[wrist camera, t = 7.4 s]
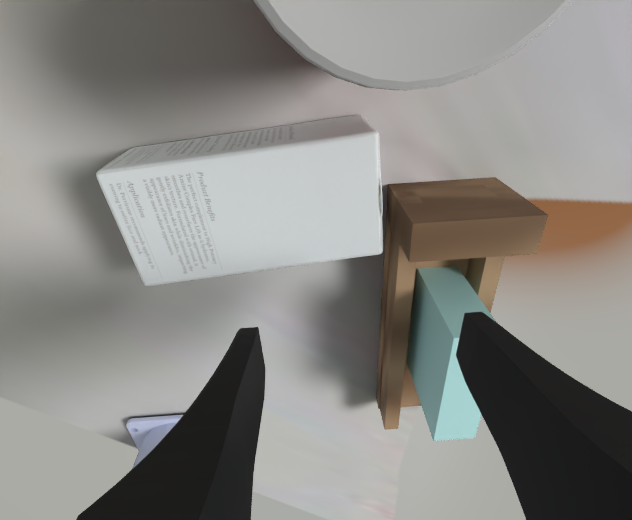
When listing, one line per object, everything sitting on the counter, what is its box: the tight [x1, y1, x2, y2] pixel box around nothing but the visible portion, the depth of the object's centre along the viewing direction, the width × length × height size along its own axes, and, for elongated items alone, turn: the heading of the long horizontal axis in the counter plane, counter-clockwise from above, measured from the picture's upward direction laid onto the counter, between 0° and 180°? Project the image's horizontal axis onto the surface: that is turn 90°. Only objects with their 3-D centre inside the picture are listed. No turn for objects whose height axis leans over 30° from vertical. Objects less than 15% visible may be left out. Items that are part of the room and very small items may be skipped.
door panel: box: [407, 266, 496, 441], centre depth 22 cm, size 8×2×6 cm, turn 3°
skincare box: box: [96, 115, 383, 286], centre depth 18 cm, size 6×4×12 cm
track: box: [376, 178, 548, 429], centre depth 23 cm, size 18×6×5 cm, turn 3°
